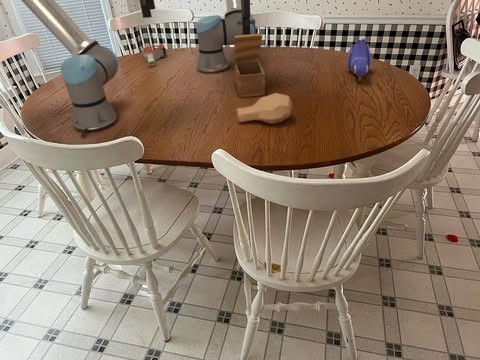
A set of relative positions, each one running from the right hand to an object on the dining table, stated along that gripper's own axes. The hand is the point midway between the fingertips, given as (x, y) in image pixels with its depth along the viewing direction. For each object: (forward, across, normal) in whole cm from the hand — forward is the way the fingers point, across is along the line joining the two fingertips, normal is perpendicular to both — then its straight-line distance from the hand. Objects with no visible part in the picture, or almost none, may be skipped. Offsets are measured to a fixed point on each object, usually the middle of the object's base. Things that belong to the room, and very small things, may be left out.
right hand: (246, 34), depth 143 cm
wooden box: (+21, -4, 0) cm, 22 cm away
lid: (+5, -1, 0) cm, 6 cm away
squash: (+21, -34, -2) cm, 40 cm away
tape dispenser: (+21, +49, +46) cm, 70 cm away
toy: (+21, 0, -49) cm, 53 cm away
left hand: (-13, -15, +35) cm, 40 cm away
